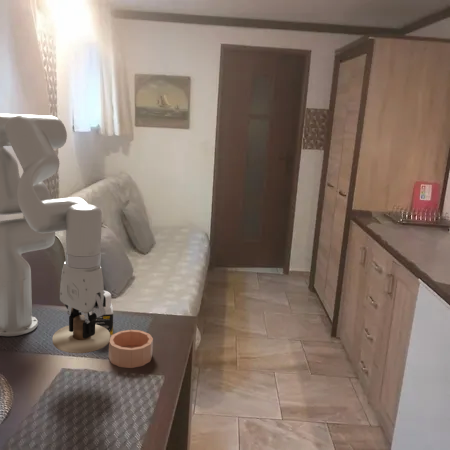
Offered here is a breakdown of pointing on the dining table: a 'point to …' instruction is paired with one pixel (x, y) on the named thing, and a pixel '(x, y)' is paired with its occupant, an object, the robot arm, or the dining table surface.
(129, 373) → the dining table surface
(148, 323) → the dining table surface
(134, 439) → the dining table surface
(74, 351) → the lid
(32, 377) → the dining table surface
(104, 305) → the medicine bottle
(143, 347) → the bowl
